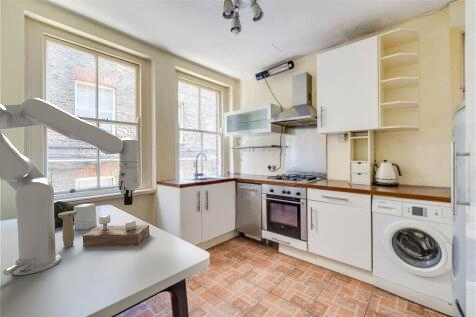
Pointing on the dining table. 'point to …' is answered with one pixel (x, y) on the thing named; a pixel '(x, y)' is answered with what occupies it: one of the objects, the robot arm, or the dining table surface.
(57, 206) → the squash
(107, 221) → the knob
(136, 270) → the dining table surface
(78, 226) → the supplement box
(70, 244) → the handle
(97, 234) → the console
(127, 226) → the knob
